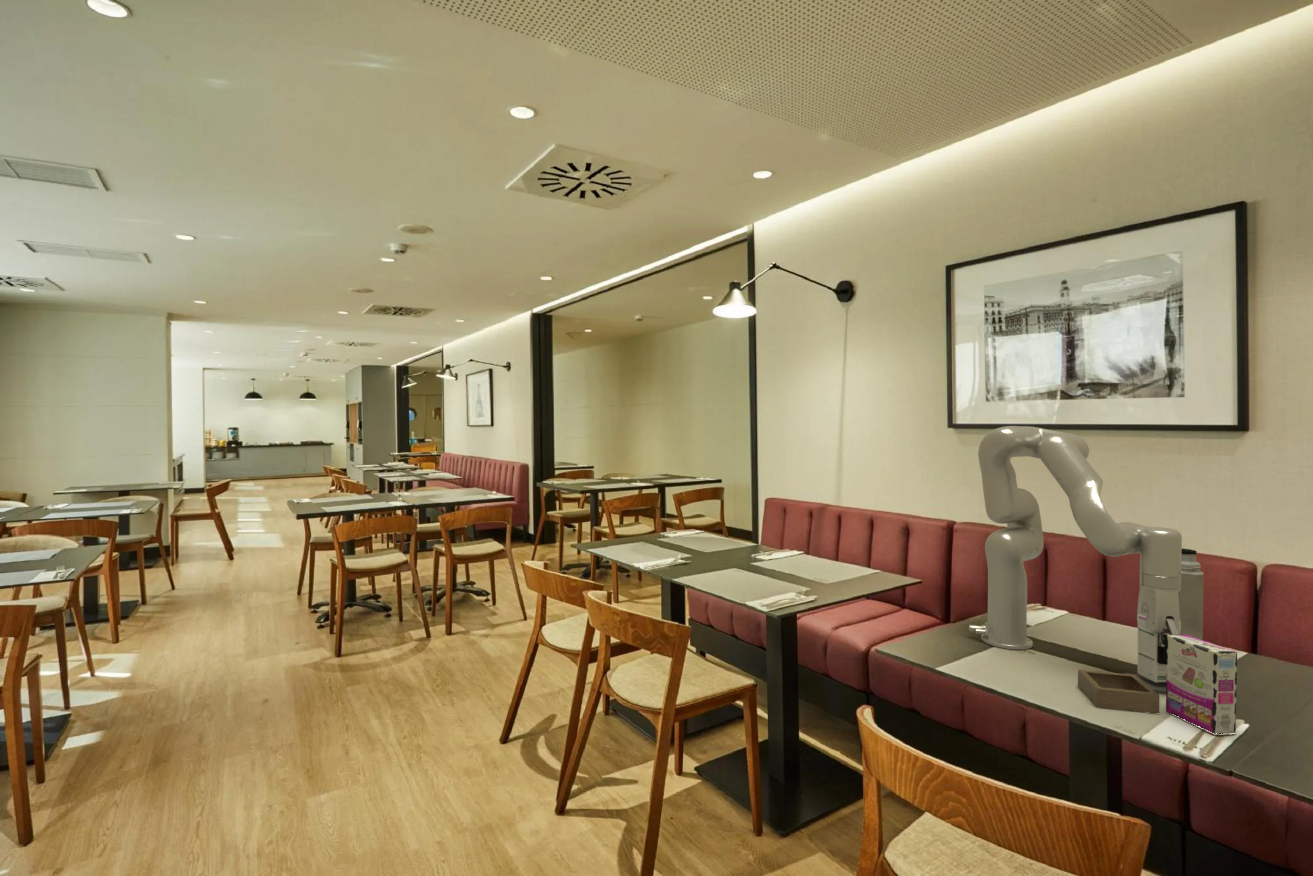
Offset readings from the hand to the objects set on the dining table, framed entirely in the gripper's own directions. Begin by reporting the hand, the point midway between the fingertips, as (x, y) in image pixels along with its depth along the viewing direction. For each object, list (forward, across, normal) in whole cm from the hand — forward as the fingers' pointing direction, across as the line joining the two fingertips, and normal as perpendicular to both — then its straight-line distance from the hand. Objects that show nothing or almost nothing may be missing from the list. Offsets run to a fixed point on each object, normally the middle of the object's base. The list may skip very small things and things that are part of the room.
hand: (1158, 657), depth 150 cm
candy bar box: (+7, +20, -1) cm, 21 cm away
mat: (+7, 0, 0) cm, 7 cm away
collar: (+7, +12, -12) cm, 18 cm away
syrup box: (+5, 0, 0) cm, 5 cm away
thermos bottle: (+7, -25, +16) cm, 31 cm away
